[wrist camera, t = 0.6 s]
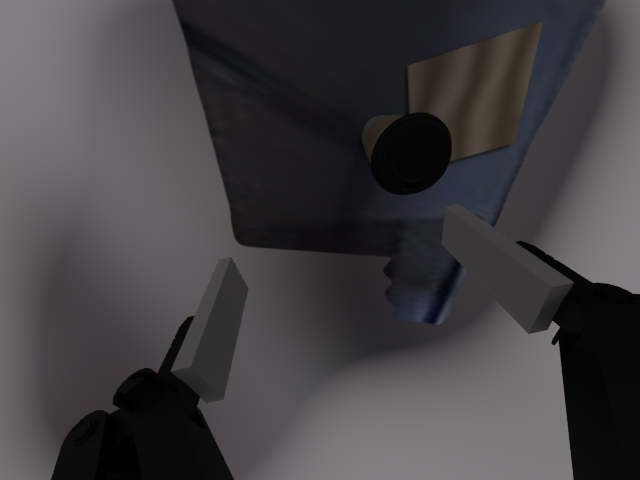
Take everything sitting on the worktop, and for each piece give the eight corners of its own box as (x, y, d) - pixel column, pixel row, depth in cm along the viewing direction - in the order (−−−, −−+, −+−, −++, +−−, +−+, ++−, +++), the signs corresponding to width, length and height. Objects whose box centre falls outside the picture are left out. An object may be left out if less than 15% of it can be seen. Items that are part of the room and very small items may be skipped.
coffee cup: (364, 172, 42) (391, 212, 30) (340, 122, 37) (362, 147, 24) (414, 144, 39) (465, 175, 27) (396, 87, 34) (450, 94, 22)
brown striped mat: (539, 22, 31) (542, 21, 31) (512, 142, 41) (515, 142, 40) (407, 65, 33) (408, 65, 32) (410, 171, 42) (411, 172, 42)
